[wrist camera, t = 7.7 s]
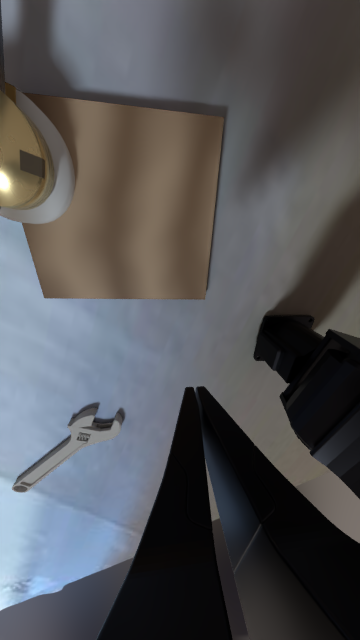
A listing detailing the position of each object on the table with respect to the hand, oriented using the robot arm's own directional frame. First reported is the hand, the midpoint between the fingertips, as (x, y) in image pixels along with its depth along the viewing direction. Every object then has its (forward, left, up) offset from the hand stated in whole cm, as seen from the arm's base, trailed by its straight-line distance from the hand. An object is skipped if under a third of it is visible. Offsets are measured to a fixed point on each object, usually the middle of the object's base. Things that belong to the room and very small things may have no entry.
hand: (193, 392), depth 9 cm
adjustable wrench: (+18, +24, -13) cm, 33 cm away
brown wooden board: (+6, -8, -12) cm, 16 cm away
